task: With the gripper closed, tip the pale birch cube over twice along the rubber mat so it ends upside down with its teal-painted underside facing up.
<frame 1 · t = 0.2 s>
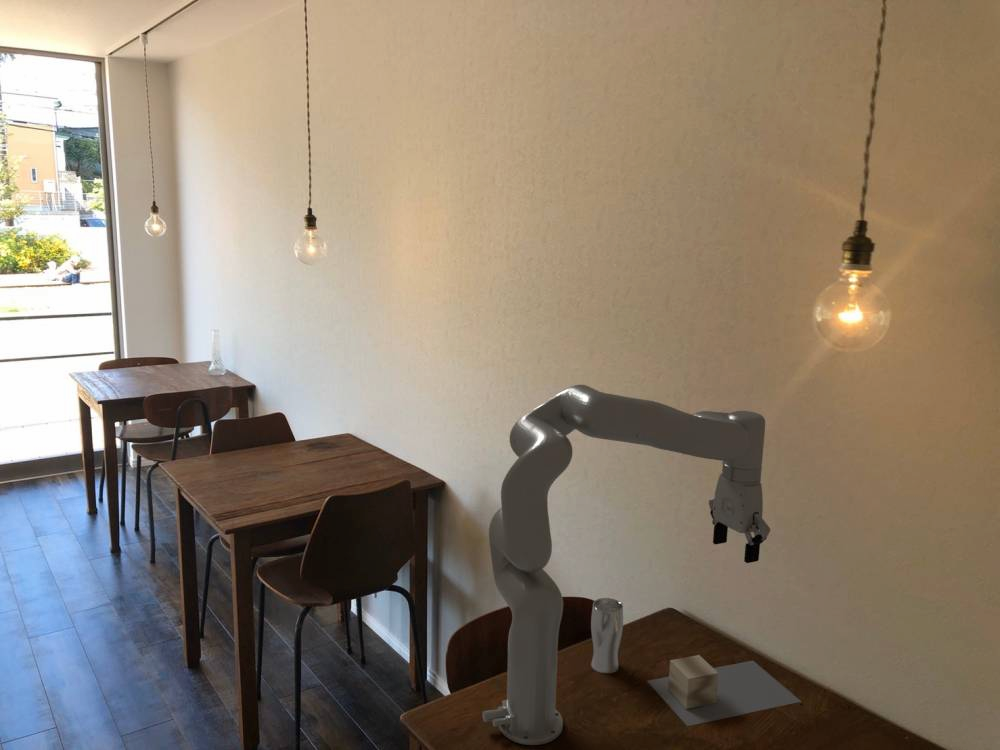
hand: (735, 552, 159), 31 cm above the table, tool pointing down, fingers open, 9 cm apart
beer glass: (604, 668, 172), on the table
rubber mat: (722, 693, 163), on the table
birch cube: (691, 697, 160), resting on rubber mat
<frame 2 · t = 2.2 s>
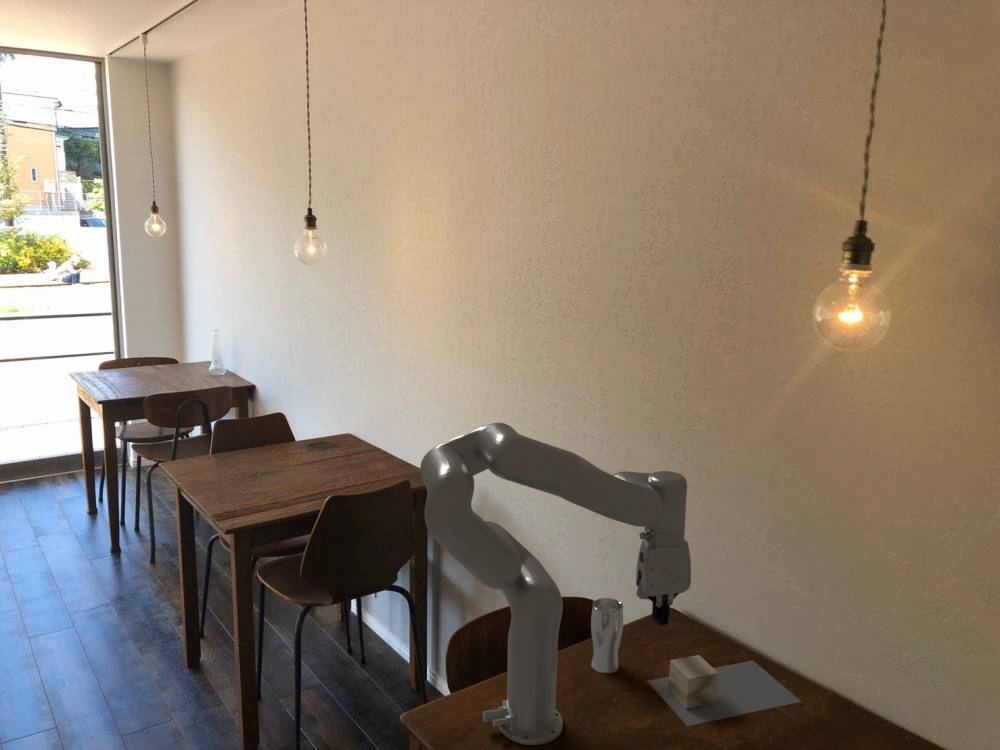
hand: (660, 621, 154), 19 cm above the table, tool pointing down, fingers closed
nothing on the table moved.
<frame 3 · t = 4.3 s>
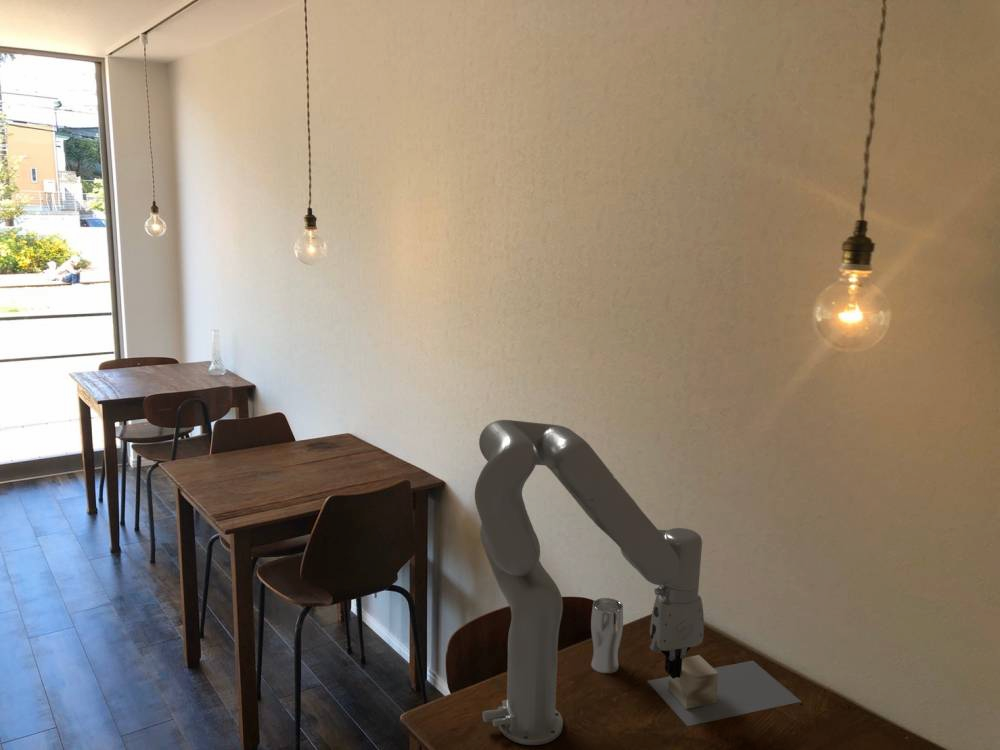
hand: (672, 674, 158), 7 cm above the table, tool pointing down, fingers closed
birch cube: (691, 697, 160), resting on rubber mat, touching gripper
everything else where it was.
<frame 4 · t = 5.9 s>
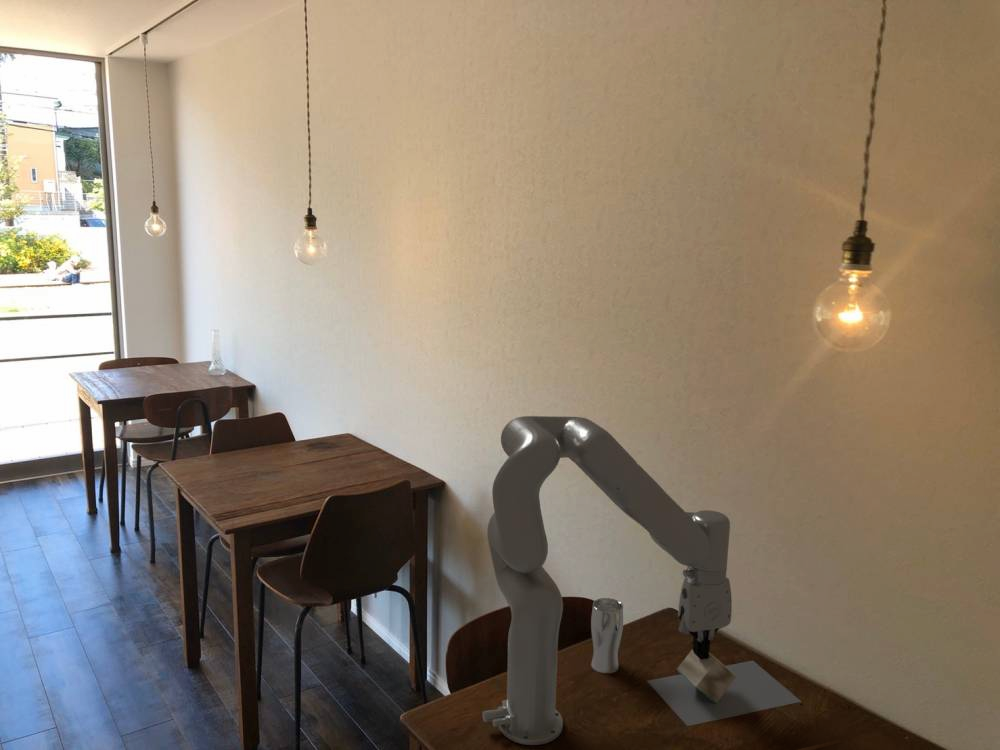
hand: (700, 655, 159), 10 cm above the table, tool pointing down, fingers closed
birch cube: (696, 686, 160), point 3 cm above the table, tilted 41°, touching gripper, rubber mat
everything else where it was.
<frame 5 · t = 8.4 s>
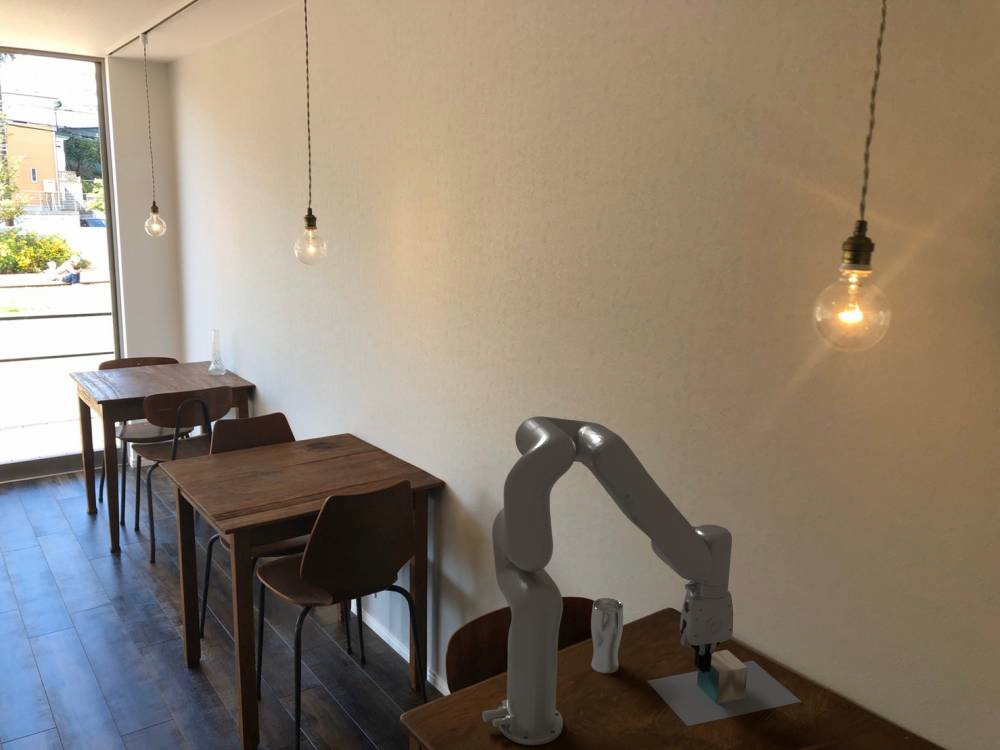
hand: (702, 668, 160), 7 cm above the table, tool pointing down, fingers closed
birch cube: (707, 679, 161), point 4 cm above the table, tilted 90°, touching gripper, rubber mat
everything else where it was.
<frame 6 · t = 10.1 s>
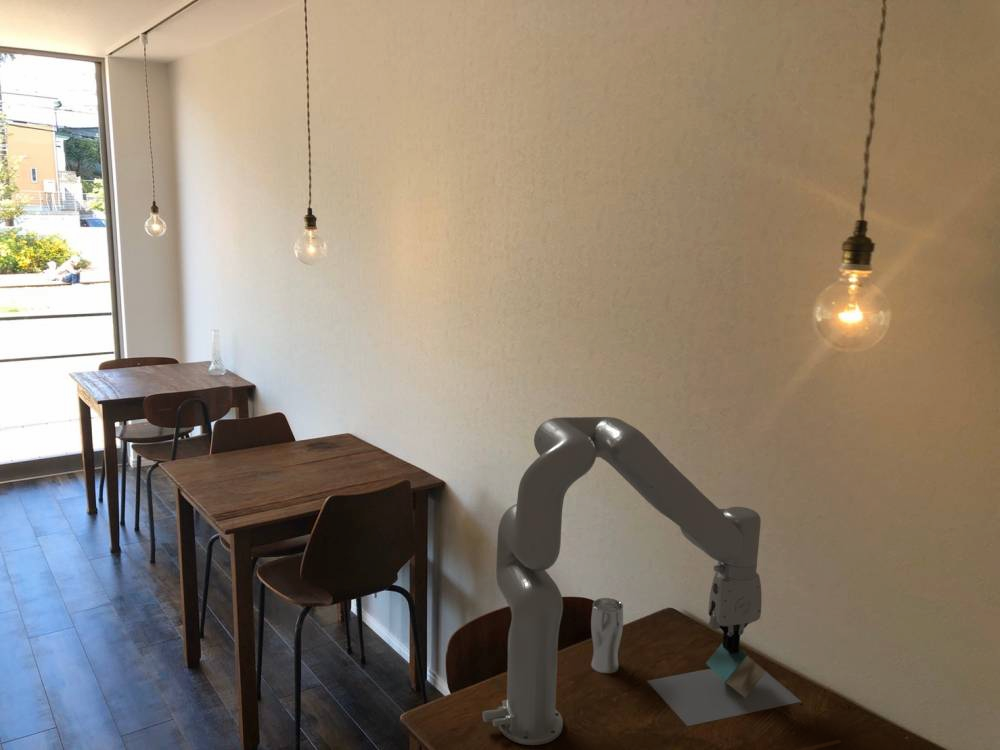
hand: (730, 649, 161), 10 cm above the table, tool pointing down, fingers closed
birch cube: (725, 659, 161), point 8 cm above the table, tilted 132°, touching gripper, rubber mat
everything else where it was.
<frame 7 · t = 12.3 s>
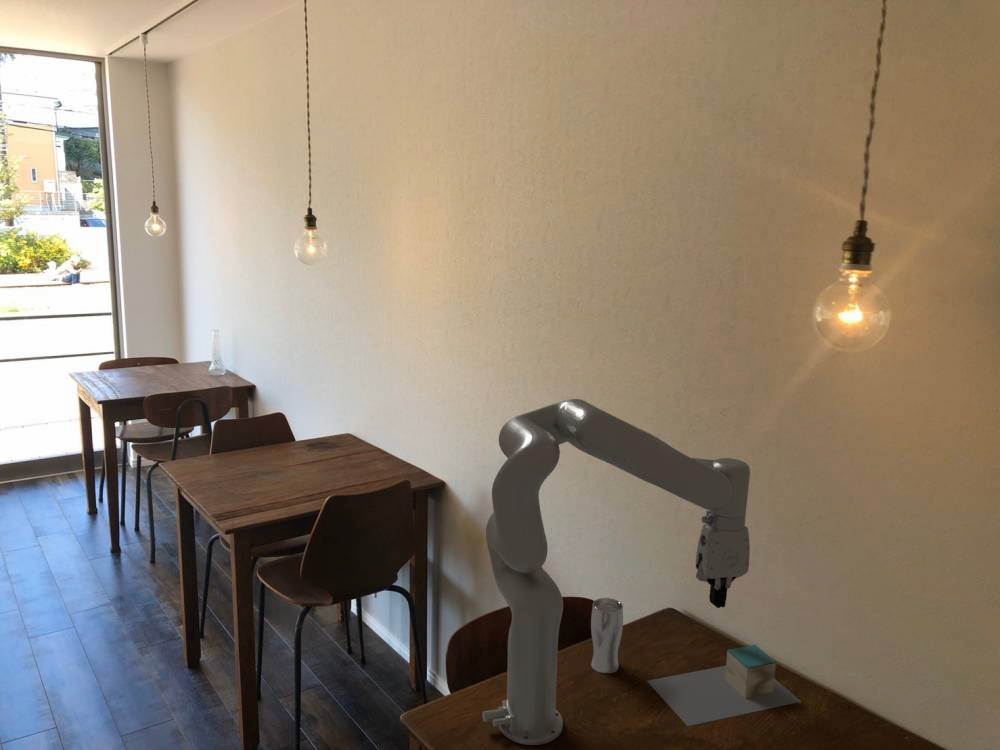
hand: (717, 604, 159), 20 cm above the table, tool pointing down, fingers closed
birch cube: (751, 655, 164), point 7 cm above the table, tilted 180°, touching rubber mat
everything else where it was.
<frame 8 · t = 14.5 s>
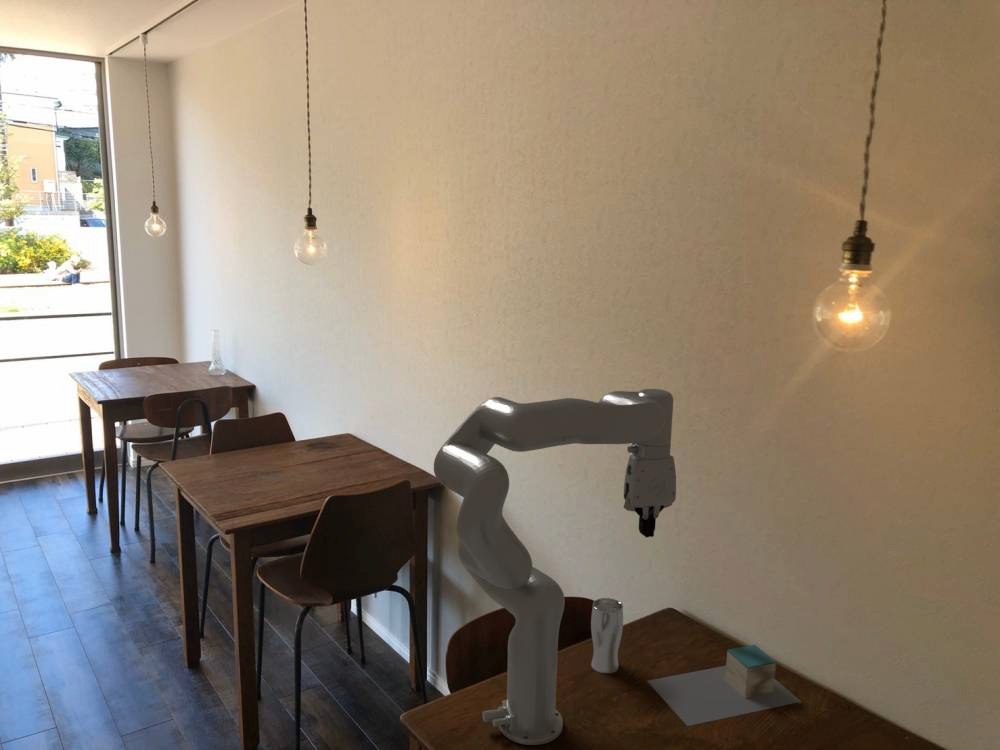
hand: (646, 534, 161), 33 cm above the table, tool pointing down, fingers closed
nothing on the table moved.
at the end: birch cube tilted 180°; birch cube inside the target area (0.5 cm from its centre), point 7.5 cm above the table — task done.
